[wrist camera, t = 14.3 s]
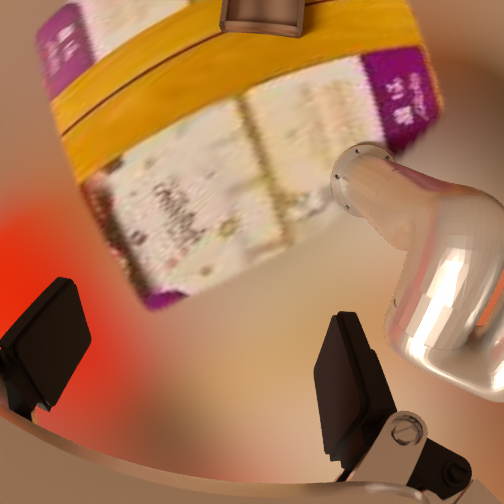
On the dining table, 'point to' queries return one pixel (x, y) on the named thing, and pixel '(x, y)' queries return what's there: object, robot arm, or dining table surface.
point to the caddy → (263, 17)
